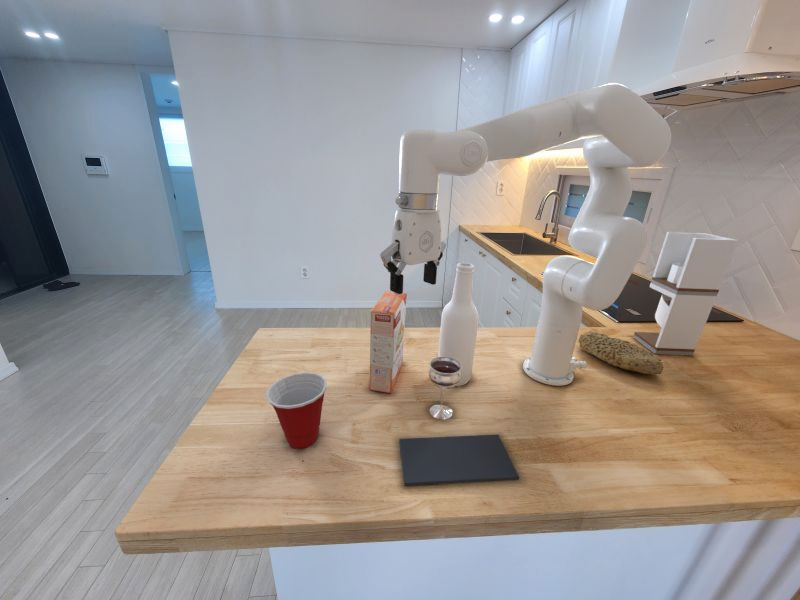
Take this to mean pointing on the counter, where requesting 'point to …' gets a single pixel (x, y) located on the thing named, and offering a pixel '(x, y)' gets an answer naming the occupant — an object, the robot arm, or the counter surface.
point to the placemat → (455, 460)
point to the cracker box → (387, 341)
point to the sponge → (621, 353)
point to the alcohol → (460, 323)
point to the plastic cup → (298, 406)
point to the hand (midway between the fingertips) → (413, 287)
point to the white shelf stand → (686, 289)
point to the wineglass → (444, 382)
